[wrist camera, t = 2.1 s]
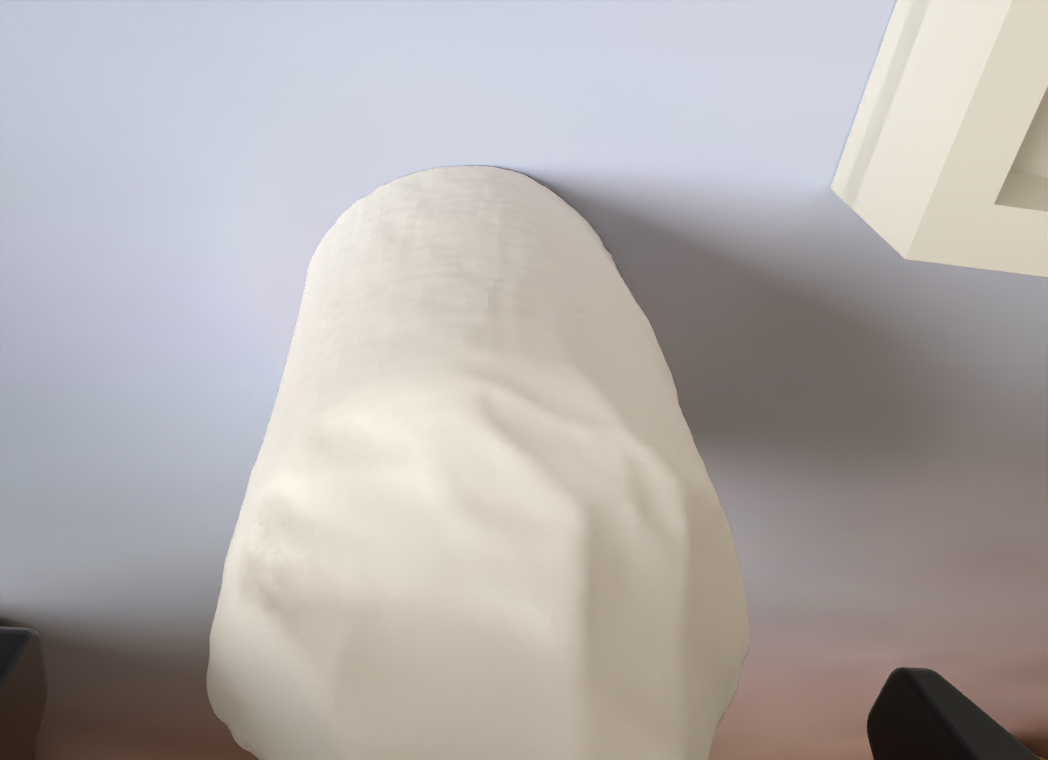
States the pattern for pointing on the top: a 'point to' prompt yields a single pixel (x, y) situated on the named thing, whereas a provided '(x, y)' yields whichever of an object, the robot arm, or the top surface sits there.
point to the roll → (475, 504)
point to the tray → (956, 136)
